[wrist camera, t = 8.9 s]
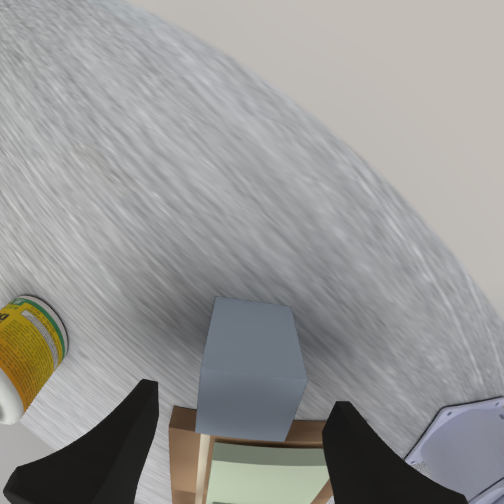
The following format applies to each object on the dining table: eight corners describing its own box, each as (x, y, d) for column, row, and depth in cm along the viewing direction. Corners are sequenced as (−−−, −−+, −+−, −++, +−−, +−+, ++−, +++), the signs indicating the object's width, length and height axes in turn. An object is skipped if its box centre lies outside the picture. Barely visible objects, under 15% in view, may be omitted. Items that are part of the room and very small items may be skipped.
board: (366, 420, 20) (373, 440, 18) (299, 517, 26) (301, 531, 24) (174, 406, 19) (168, 428, 17) (176, 508, 25) (174, 522, 23)
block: (290, 306, 17) (308, 379, 11) (276, 364, 18) (284, 441, 12) (216, 295, 16) (200, 367, 11) (209, 355, 18) (195, 432, 12)
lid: (334, 448, 17) (343, 488, 14) (302, 497, 20) (306, 530, 17) (214, 442, 17) (209, 485, 14) (206, 492, 19) (203, 526, 16)
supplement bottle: (48, 369, 18) (-14, 457, 9) (2, 314, 17) (-76, 388, 8) (84, 342, 18) (11, 449, 8) (32, 277, 16) (-68, 359, 7)
